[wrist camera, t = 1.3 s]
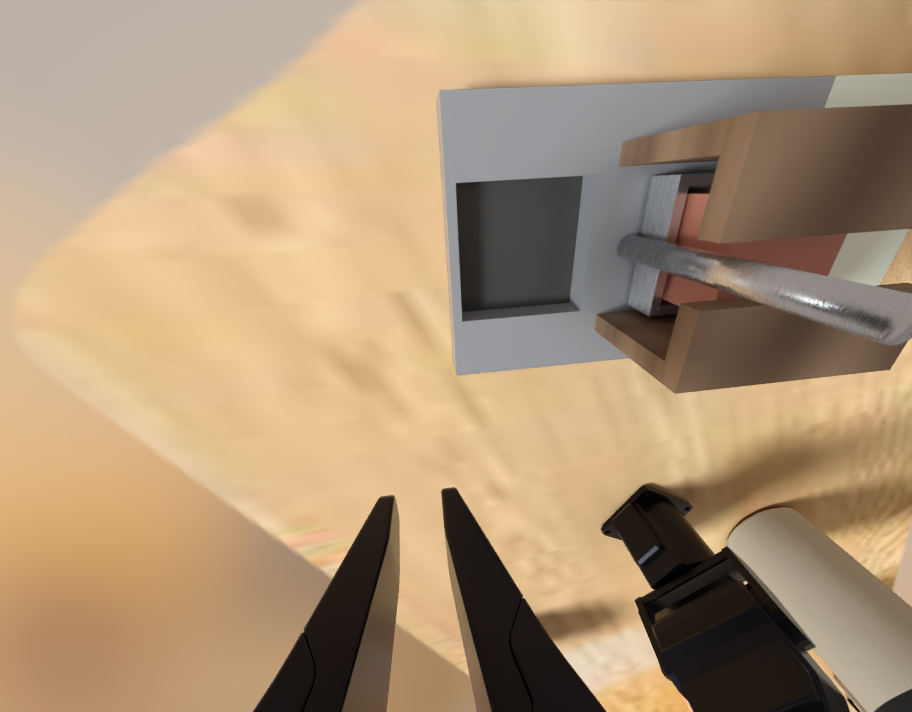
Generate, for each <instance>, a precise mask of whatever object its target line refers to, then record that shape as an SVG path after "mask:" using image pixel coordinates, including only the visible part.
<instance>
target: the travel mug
mask: <svg viewBox="0 0 912 712" xmlns="http://www.w3.org/2000/svg"><path fill="white" fill-rule="evenodd" d="M726 546H728V547H729V548H730V549H731V550H732V551H733V552H734V553H735V554H736V555H737V556H738V557H740V558H741V559H742V560H743V561H744V562H745V563H746V564H747V565H748V566H749V567H750V568H751V569H752V570H753V571H754V572H755V574H756V575H757V576H758V577H759V578H760V579H761V580H762V581H763V582H764V583H765V585H766V586H767V587H768V588H769V589H770V590H771V591H772V592H773V593H774V595H775V596H776V597H777V598H778V599H779V601H780V602H781V603H782V604H783V606H784V607H785V608H786V609H787V611H788V612H789V613H790V614H791V616H792V617H793V618H794V619H795V621H796V622H797V623H798V624H799V625H800V627H801V628H802V629H803V630H804V632H805V633H806V634H807V635H808V637H809V638H810V639H811V640H812V642H813V643H814V644H815V646H816V647H815V648H813V650H814V651H815V652H816V653H817V655H818V656H819V657H820V658H821V659H822V660H823V661H824V663H825V664H826V665H827V666H828V667H829V668H830V670H831V671H832V672H833V673H834V674H835V675H836V676H837V678H838V679H839V680H840V681H841V682H842V683H843V685H844V686H845V687H846V688H847V689H848V690H849V692H850V693H851V694H852V695H853V696H854V697H855V698H856V700H857V701H858V702H859V703H860V704H861V705H862V707H863V708H864V709H865V710H866V711H867V712H912V607H911V606H910V605H909V604H907V603H906V602H905V601H904V600H903V599H901V598H900V597H899V596H898V595H897V594H896V593H894V592H893V591H892V590H891V589H890V588H888V587H887V586H886V585H885V584H884V583H882V582H881V581H880V580H879V579H878V578H877V577H875V576H874V575H873V574H872V573H871V572H869V571H868V570H867V569H866V568H865V567H863V566H862V565H861V564H860V563H859V562H857V561H856V560H855V559H854V558H853V557H852V556H850V555H849V554H848V553H847V552H846V551H844V550H843V549H842V548H841V547H840V546H838V545H837V544H836V543H835V542H834V541H833V540H831V539H830V538H829V537H828V536H827V535H825V534H824V533H823V532H822V531H821V530H819V529H818V528H817V527H816V526H815V525H814V524H812V523H811V522H810V521H809V520H808V519H806V518H805V517H804V516H803V515H802V514H800V513H799V512H798V511H797V510H795V509H793V508H788V507H780V508H773V509H767V510H764V511H761V512H758V513H755V514H753V515H751V516H750V517H748V518H746V519H745V520H743V521H742V522H741V523H740V524H739V525H737V526H736V527H735V528H734V529H733V531H732V532H731V534H730V536H729V538H728V540H727V544H726Z"/></svg>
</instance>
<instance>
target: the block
mask: <svg viewBox="0 0 912 712" xmlns="http://www.w3.org/2000/svg"><path fill="white" fill-rule="evenodd" d="M709 194H710V190H704V191H689V192H688V193H687V197H686V201H685V205H684V210H683V214H682V218H681V222H680V226H679V230H678V235H677V239H676V243H675V244H677V245H682V246H687V247H692V248H696V249H701V250H706V251H711V252H715V253H720V254H725V255H730V256H734V257H739V258H744V259H749V260H753V261H758V262H763V263H768V264H772V265H777V266H782V267H787V268H791V269H796V270H801V271H806V272H810V273H815V274H820V275H825V276H828V275H829V273H830V270H831V268H832V266H833V264H834V262H835V260H836V257H837V255H838V253H839V251H840V249H841V247H842V245H843V242H844V240H845V238H846V236H847V234H835V235H822V236H809V237H796V238H783V239H770V240H756V241H743V242H730V243H716V242H710V241H704V240H699V239H698V235H699V231H700V227H701V224H702V220H703V216H704V213H705V209H706V205H707V201H708V198H709ZM733 298H743V297H740V296H737V295H734V294H731V293H728V292H725V291H722V290H718V289H715V288H712V287H709V286H706V285H703V284H700V283H697V282H694V281H691V280H688V279H685V278H682V277H679V276H676V275H673V274H670V273H668V276H667V280H666V284H665V289H664V293H663V297H662V299H664V300H666V301H669V302H671V303H673V304H675V305H678V306H680V303H688V302H699V301H710V300H722V299H733Z"/></svg>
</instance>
